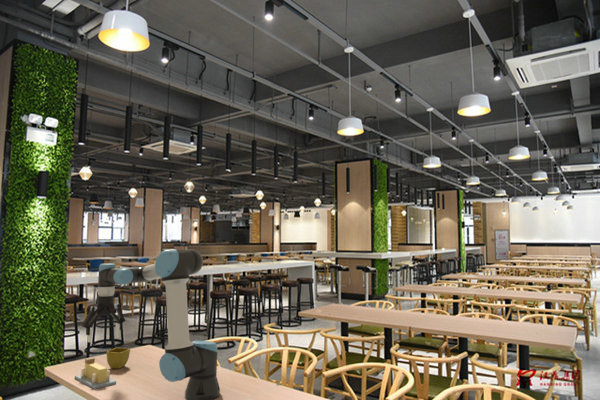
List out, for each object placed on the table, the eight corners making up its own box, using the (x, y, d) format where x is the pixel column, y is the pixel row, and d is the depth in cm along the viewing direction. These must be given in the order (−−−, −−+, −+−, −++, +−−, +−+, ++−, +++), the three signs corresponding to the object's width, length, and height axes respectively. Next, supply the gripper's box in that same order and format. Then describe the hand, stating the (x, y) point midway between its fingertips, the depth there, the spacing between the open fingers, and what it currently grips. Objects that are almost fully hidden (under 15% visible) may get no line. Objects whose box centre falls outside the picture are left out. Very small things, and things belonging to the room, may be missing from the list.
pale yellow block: (106, 381, 195) (107, 363, 196) (98, 383, 192) (99, 365, 193) (91, 373, 205) (92, 357, 206) (84, 375, 203) (85, 358, 203)
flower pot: (119, 370, 215) (120, 352, 216) (104, 369, 217) (105, 351, 218) (129, 365, 224) (130, 348, 225) (115, 364, 225) (116, 347, 226)
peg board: (116, 383, 195) (116, 372, 196) (94, 389, 188) (95, 377, 188) (95, 373, 209) (96, 363, 210) (74, 378, 202) (75, 367, 202)
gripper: (126, 292, 215) (124, 334, 213) (76, 297, 196) (73, 342, 194) (133, 293, 211) (131, 336, 208) (83, 298, 192) (80, 345, 189)
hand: (103, 339), depth 201 cm, fingers open, 13 cm apart
